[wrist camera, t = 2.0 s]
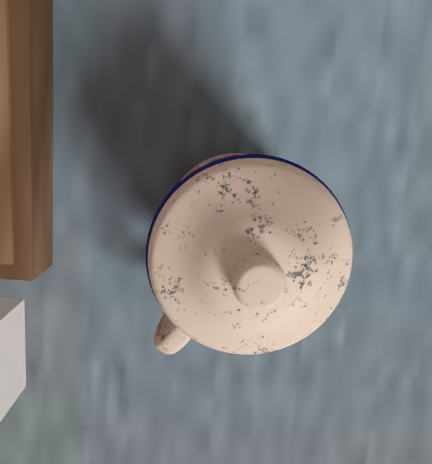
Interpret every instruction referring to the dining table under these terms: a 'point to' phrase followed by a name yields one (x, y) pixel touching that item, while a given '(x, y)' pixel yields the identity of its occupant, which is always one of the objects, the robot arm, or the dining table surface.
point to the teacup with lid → (246, 255)
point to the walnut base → (25, 138)
